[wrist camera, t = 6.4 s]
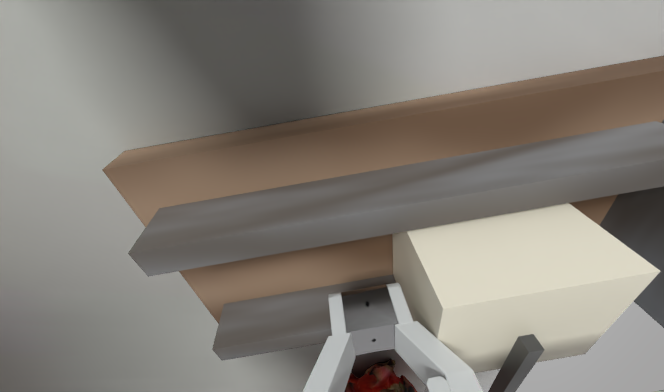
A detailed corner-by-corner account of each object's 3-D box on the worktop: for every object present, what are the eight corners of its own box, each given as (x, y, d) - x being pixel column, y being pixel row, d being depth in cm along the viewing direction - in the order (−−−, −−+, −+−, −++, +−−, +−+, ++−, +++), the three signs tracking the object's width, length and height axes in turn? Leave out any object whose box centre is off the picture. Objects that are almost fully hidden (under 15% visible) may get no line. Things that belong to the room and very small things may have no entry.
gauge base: (124, 151, 11) (-104, 342, 5) (718, 45, 11) (1278, 101, 5) (232, 312, 18) (197, 473, 12) (590, 250, 18) (742, 380, 12)
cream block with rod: (392, 200, 11) (451, 326, 7) (531, 175, 11) (682, 287, 7) (393, 302, 16) (430, 418, 11) (493, 285, 16) (569, 395, 11)
